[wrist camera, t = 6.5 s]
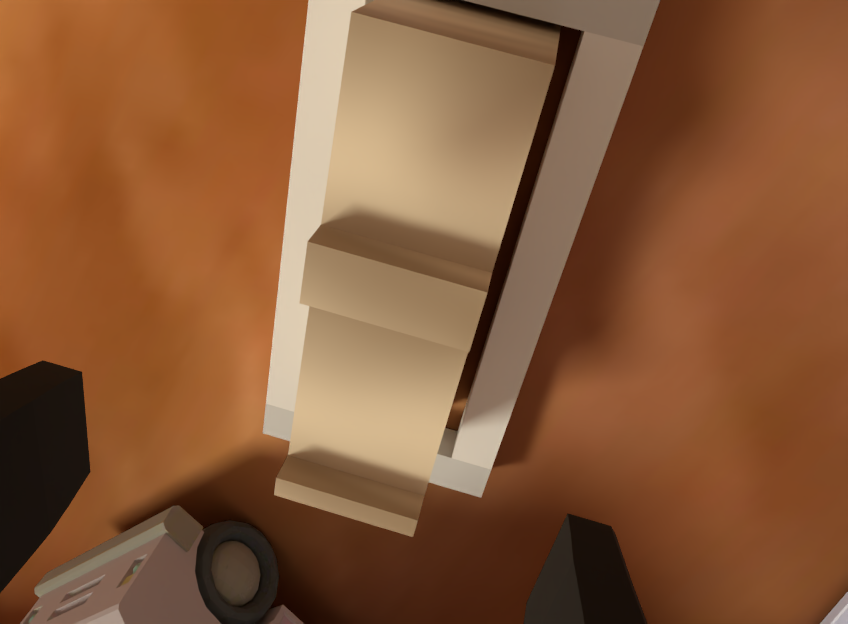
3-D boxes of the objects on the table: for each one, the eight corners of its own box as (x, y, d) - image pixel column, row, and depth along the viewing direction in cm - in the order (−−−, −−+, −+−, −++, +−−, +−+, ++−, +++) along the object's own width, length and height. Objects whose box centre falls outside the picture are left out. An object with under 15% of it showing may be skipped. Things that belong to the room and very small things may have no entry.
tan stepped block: (448, 401, 21) (413, 537, 17) (337, 369, 21) (273, 495, 17) (561, 23, 15) (553, 75, 11) (407, -17, 15) (337, 18, 11)
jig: (485, 470, 22) (481, 497, 21) (277, 408, 22) (262, 433, 21) (660, -25, 14) (666, -19, 13) (338, -105, 15) (319, -106, 14)
